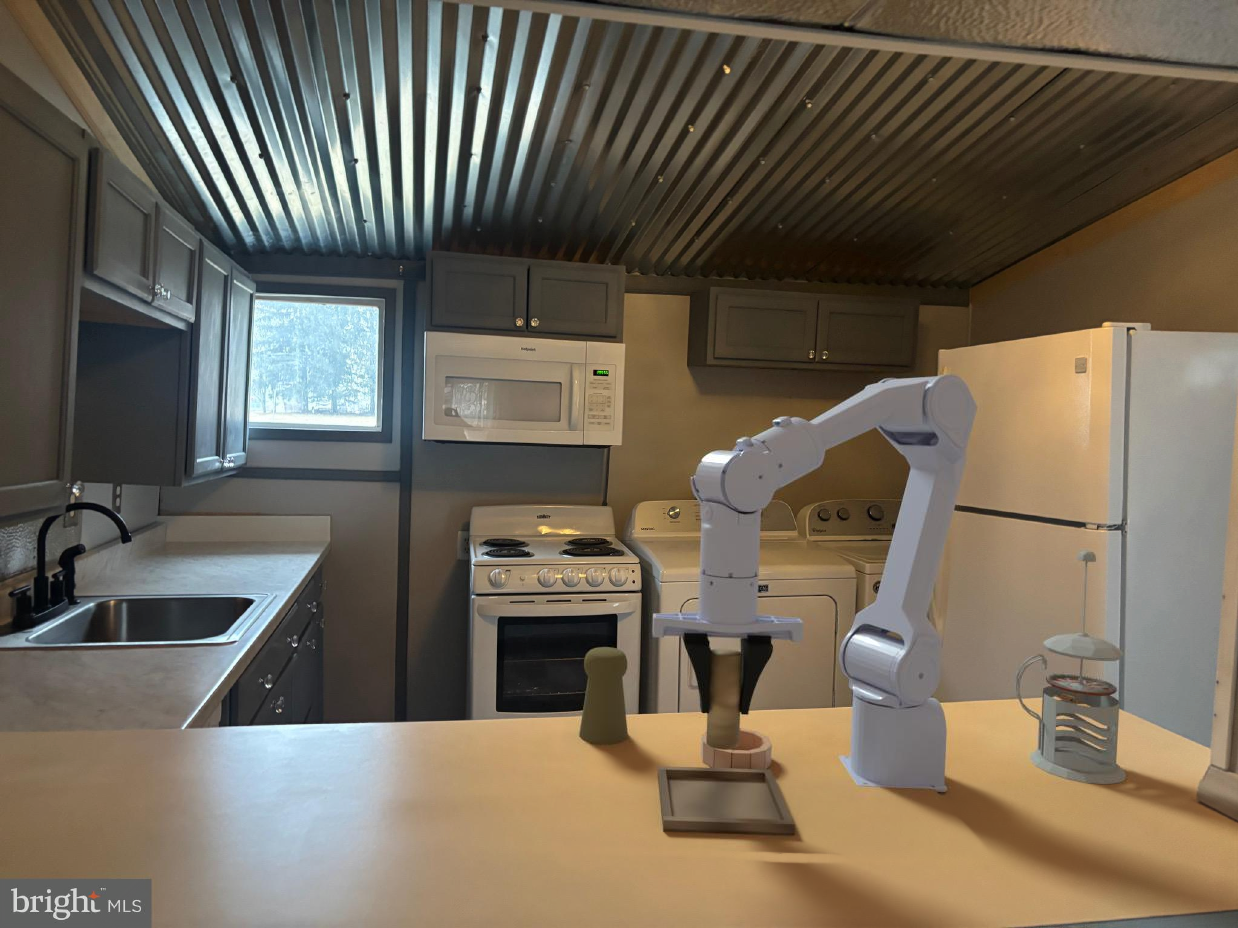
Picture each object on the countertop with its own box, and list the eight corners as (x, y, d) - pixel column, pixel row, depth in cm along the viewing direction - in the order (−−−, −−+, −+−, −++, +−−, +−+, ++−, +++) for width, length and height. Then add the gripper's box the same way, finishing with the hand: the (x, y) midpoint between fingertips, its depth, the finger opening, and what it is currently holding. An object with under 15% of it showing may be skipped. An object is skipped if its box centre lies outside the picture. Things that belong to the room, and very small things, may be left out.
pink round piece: (763, 751, 94) (764, 728, 94) (775, 779, 87) (776, 754, 87) (698, 749, 94) (699, 726, 94) (705, 777, 87) (706, 751, 87)
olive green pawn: (630, 732, 99) (633, 644, 99) (626, 751, 93) (629, 657, 93) (582, 729, 100) (584, 641, 100) (574, 747, 94) (577, 654, 94)
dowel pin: (737, 737, 81) (740, 649, 81) (740, 750, 78) (744, 657, 78) (705, 736, 81) (708, 648, 81) (707, 748, 78) (710, 656, 78)
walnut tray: (770, 784, 86) (770, 769, 86) (794, 841, 74) (794, 824, 74) (657, 780, 86) (657, 765, 86) (662, 837, 74) (663, 819, 74)
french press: (1137, 790, 87) (1149, 559, 86) (1018, 772, 91) (1029, 551, 90) (1114, 756, 96) (1125, 548, 95) (1007, 742, 100) (1016, 541, 99)
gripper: (794, 568, 83) (789, 699, 83) (653, 564, 83) (649, 694, 83) (810, 581, 76) (804, 723, 76) (656, 576, 76) (651, 718, 76)
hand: (724, 710), depth 79 cm, fingers closed on dowel pin, 3 cm apart
